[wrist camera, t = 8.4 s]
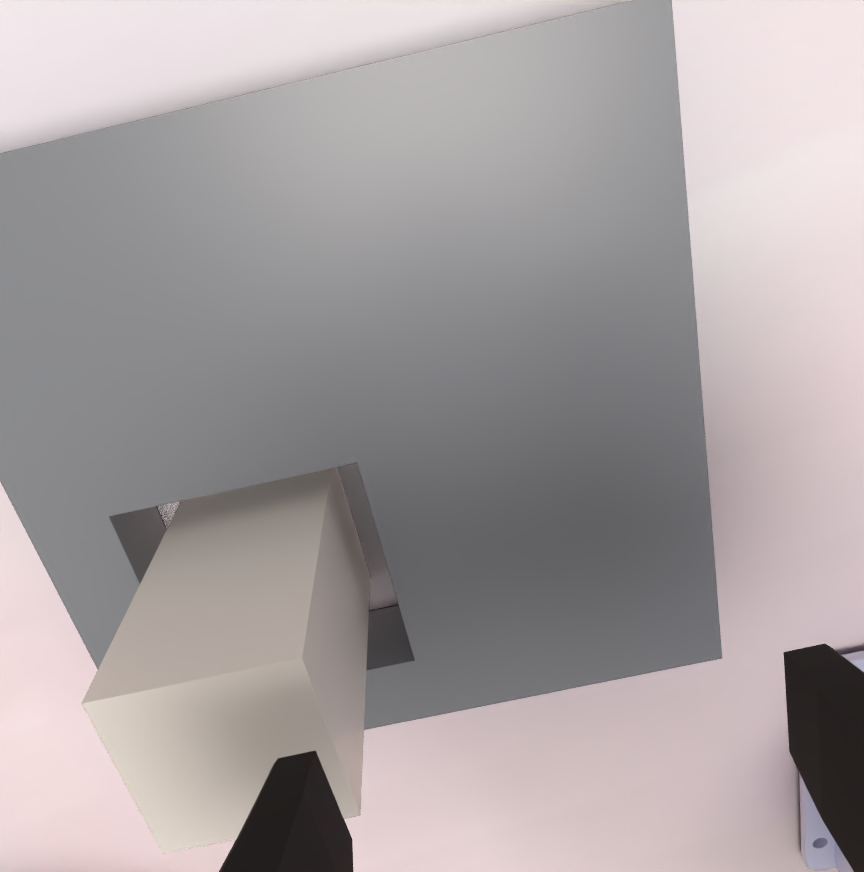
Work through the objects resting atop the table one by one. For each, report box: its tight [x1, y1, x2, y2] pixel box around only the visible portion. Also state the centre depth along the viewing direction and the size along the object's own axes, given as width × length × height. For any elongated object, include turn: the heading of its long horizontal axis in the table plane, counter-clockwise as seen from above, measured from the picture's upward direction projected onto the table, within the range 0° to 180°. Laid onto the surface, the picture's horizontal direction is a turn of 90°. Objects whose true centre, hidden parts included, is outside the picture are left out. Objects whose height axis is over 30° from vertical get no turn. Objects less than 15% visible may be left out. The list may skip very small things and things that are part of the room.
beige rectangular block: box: [82, 467, 370, 854], centre depth 18 cm, size 4×4×8 cm
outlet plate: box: [0, 0, 722, 730], centre depth 19 cm, size 16×16×2 cm
